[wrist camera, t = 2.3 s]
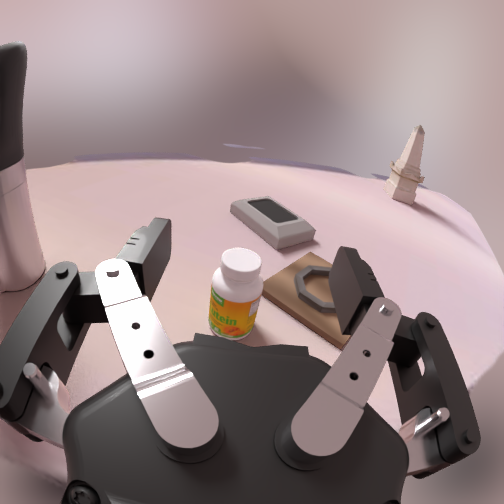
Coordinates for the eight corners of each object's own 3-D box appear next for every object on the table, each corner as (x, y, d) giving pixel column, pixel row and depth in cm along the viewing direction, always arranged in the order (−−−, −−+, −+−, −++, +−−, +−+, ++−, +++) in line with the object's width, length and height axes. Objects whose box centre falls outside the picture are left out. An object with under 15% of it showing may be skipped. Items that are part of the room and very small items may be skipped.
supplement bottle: (199, 326, 31) (202, 260, 26) (223, 301, 35) (232, 237, 30) (238, 349, 29) (253, 284, 24) (260, 320, 34) (277, 257, 28)
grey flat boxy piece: (280, 233, 46) (232, 197, 55) (275, 252, 48) (229, 213, 57) (317, 224, 51) (268, 192, 60) (312, 241, 53) (265, 207, 62)
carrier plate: (340, 349, 31) (346, 339, 30) (256, 290, 38) (258, 279, 37) (377, 298, 41) (382, 288, 39) (308, 256, 47) (312, 246, 46)
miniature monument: (413, 205, 89) (438, 132, 72) (391, 198, 88) (415, 121, 72) (403, 195, 97) (425, 127, 81) (382, 188, 97) (403, 117, 81)
